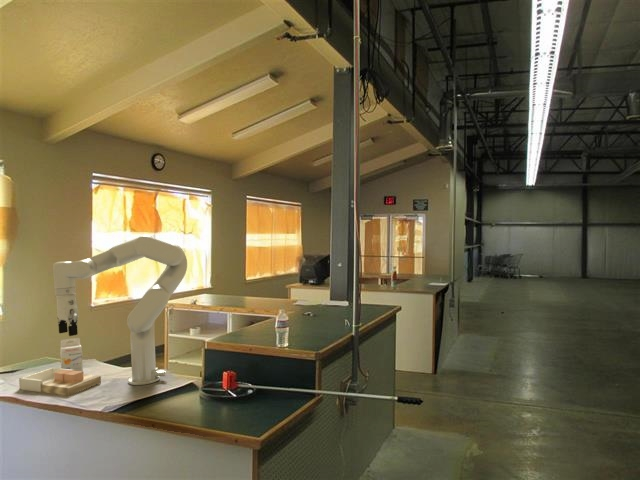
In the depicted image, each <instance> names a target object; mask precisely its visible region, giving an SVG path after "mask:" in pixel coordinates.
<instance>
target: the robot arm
mask: <svg viewBox="0 0 640 480" xmlns="http://www.w3.org/2000/svg"><path fill="white" fill-rule="evenodd" d="M143 258H146V259H148V260H151V261H155V262H156V263H157V262H158V263H160V264H162V265H166V267H165V268H164V270H163V272H162V273H161V275H160V276H159V277H158V278H157V280H156V281H154V284H152V285H151V287H149V288H148V289H147V290H146V292H145V293H144V294H143V296H142V297H141V299H139V301H138V303H137V304H136V305H135V307H134V308H133V309H132V310H131V311H130V312H129V314H128V316H127V320H126V324H127V327H128V328H129V330H130V356H131V357H130V358H131V361H130V362H131V377H129V378H128V380H127V383H128V384H129V385H132V386H133V385H134V386H145V385H150V384H154V383H157V382H158V381H160V379H161V377H166V376H167V372H166V371H165V370H159V368H158V367H156V366H157V365H156V364H157V363H156V345H155V343H156V342H155V340H156V337H155V335H156V334H155V321H157V318H158V317H159V316H160V315H161V313H162V312H163V310H164V309H165V308H166V306H167V304H168V303H169V301H170V298H171V297H172V296H173V294H174V293H175V291H176V290H177V288H178V287H179V285H180V283H181V282H182V281H183V279H184V278H185V275H186V272H187V269H188V259H187V256H186V254H185V251H184V249H183V248H182V247H180V246H179V245H176V244H171V243H168V242H165V241H162V240H159V239H157V238H154V237H153V236H151V235H149V234H143V235H140V236H138V237H136V238H133V239H131V240H128V241H125V242H123V243H120V244H117V245H115V246H114V245H113V246H112V247H111V248H109V249H108V250H106V251H104V252H101V253H99V254H96V255H93V256H90V257H88V258H83V259H81V260H76V261H71V260H70V261H68V260H67V261H57V262H54V263H53V265H52V268H53V269H52V270H53V271H52V272H53V283H54V297H56V314H57V320H58V321H57V323H58V325H57V326H58V333H59V334H65V333H68V336H69V337H72V336H78V335H79V334H78V333H79V332H78V319H79V318H80V317H79V308H78V302H77V301H78V300H77V298H76V295H77V292H76V291H77V290H76V289H77V288H76V279H77V280H85V279H88V278H90V277H93V276H94V275H95V276H96V275H97V274H100V273H102V272H106V271H108V270H111V269H114V268H118V267H122V266H124V265H128V264H130V263H132V262H135V261H138V260H139V259H140V260H141V259H143Z"/></svg>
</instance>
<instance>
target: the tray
mask: <svg viewBox="0 0 640 480" xmlns="http://www.w3.org/2000/svg"><path fill="white" fill-rule="evenodd" d="M61 370H64V369H63V368H61V367H50V368H47V369H44V370H42V371H39V372H36V373H31V374H29V375H25V376H21V377H19V378H18V382H19V383H18V384H19V390H22V391H23V390H24V391H30V392H38V393H42V392H41V384H44V383H47V382H49V381H52V380H54V373H55V372H58V371H61ZM65 370H73V369H65ZM73 371H74V370H73Z"/></svg>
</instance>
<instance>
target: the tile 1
mask: <svg viewBox="0 0 640 480" xmlns="http://www.w3.org/2000/svg"><path fill="white" fill-rule="evenodd" d="M71 371H73V370H65V369H64V370H61V371H58V372H55V373H54V381H61V382H64V374H65V373H68V372H71Z"/></svg>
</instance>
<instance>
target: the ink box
mask: <svg viewBox="0 0 640 480" xmlns="http://www.w3.org/2000/svg"><path fill="white" fill-rule="evenodd" d="M59 343H60V347H59V351H60V353H59V354H60V368H63V369H73V370H74V371H83V372H84V370H83V369H84V368H83V347H82V345H81V338H80V337H76V338H75V337H74V338H66V339H60V342H59Z"/></svg>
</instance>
